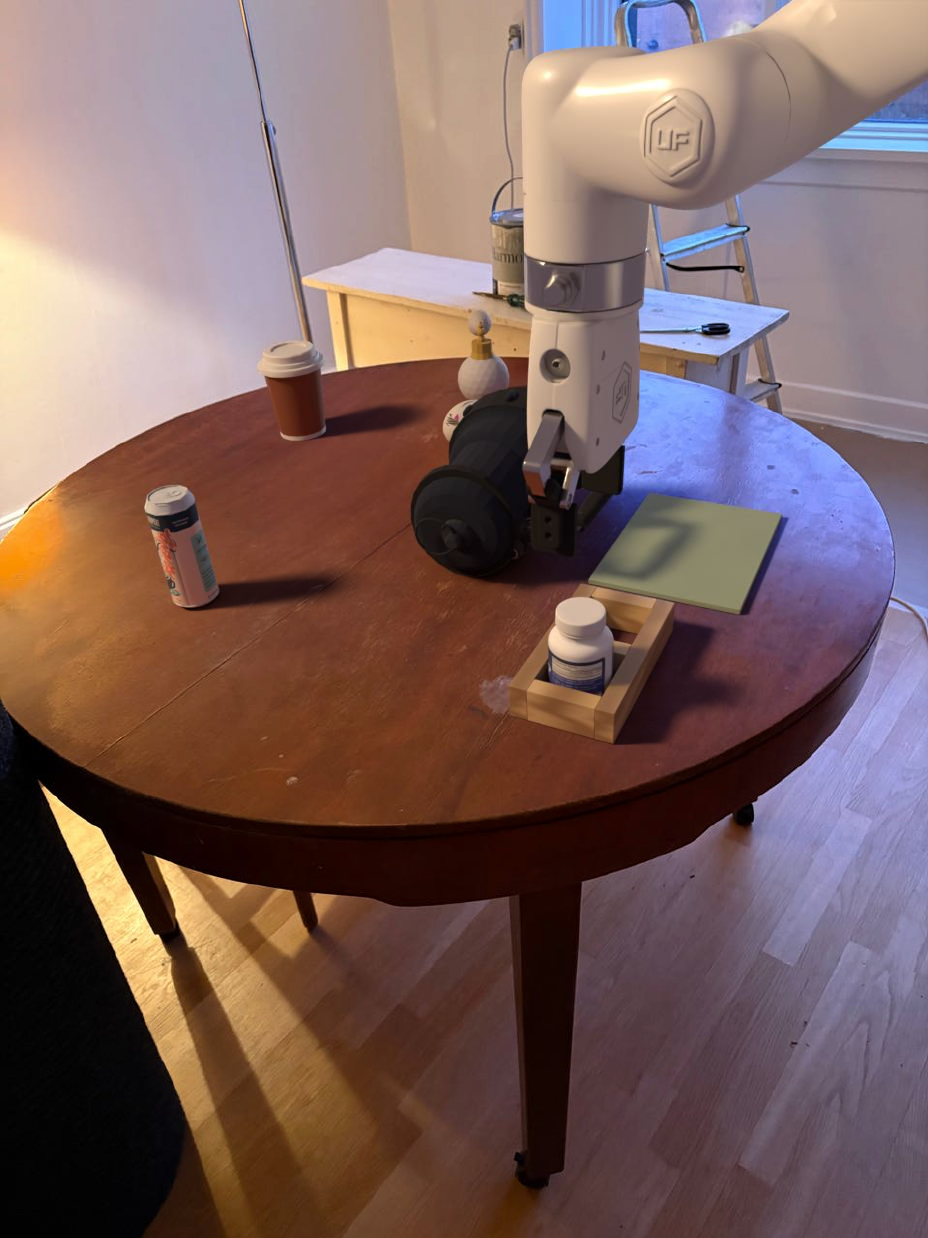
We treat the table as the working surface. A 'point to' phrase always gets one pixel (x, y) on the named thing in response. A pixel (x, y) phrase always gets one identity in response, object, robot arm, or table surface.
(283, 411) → the coffee cup
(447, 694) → the table surface
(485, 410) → the flashlight
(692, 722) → the table surface
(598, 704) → the rack
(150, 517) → the beer can
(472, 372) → the perfume bottle
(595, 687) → the pill bottle
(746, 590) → the mat
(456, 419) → the white rounded ceramic piece
